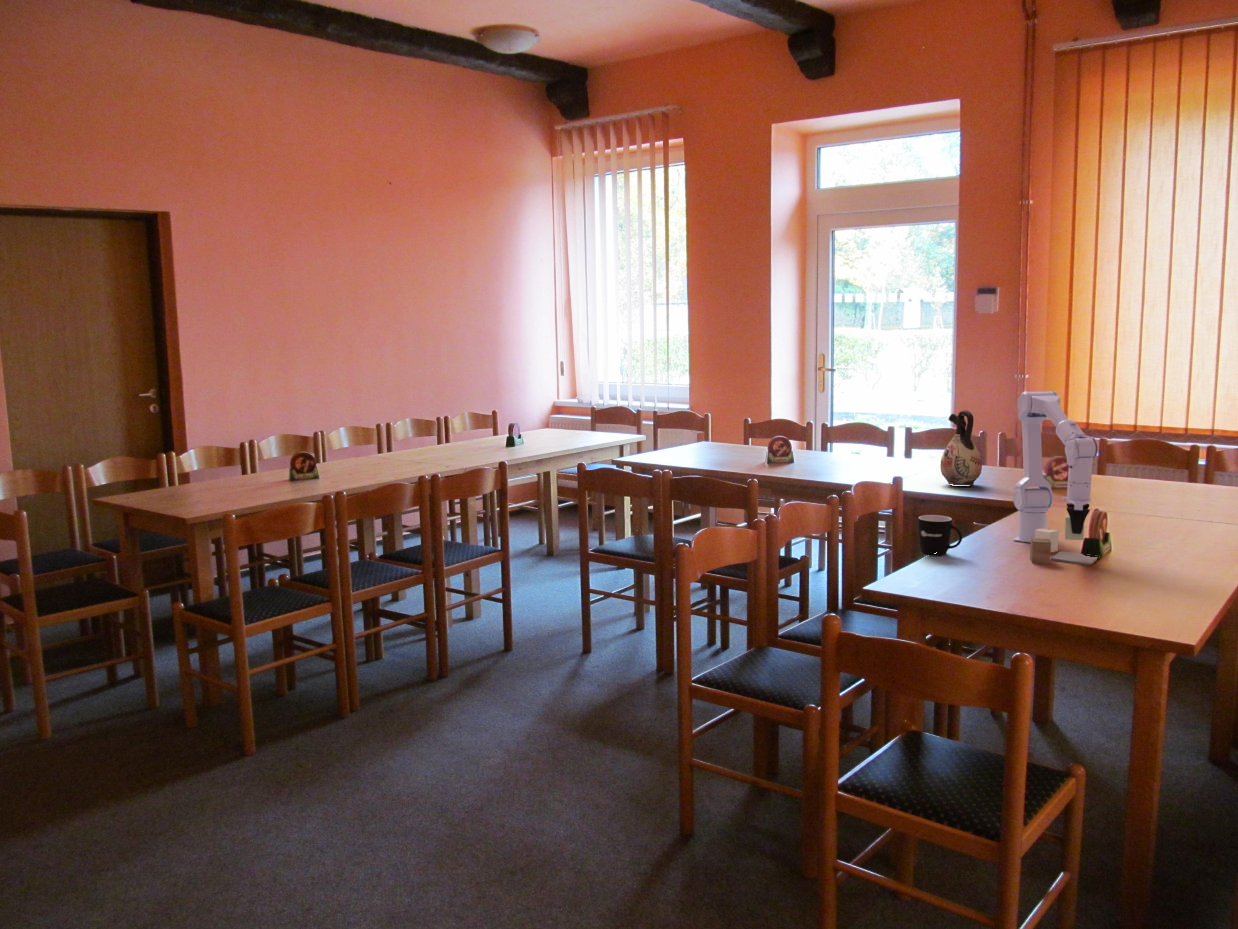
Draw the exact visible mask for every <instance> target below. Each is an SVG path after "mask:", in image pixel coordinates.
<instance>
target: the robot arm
mask: <svg viewBox="0 0 1238 929" xmlns="http://www.w3.org/2000/svg"><path fill="white" fill-rule="evenodd" d="M1017 416H1018V420H1019V421H1021V435H1022V438H1021V439H1022V458H1023V459H1022V460H1023V463H1022V464H1023V465H1022V466H1023V477H1022V478H1021V479H1020V480H1018V482H1016V483H1015V484H1014V493H1013V496H1012V501H1013V504H1014V505H1013V506H1015V508H1016V510H1018V511H1019V512H1018V528H1017V529H1018V530H1017V531H1018V532H1017V534H1018V535H1017V536H1016V537H1014V538H1013V541H1015V542H1024V543H1030V544H1031V538H1035V530H1037V529H1041V528H1048V515H1047V512H1049V509H1051V508H1052V506H1053V503H1054V493H1053V491H1052V484H1051V483H1050V482H1049V481H1048V480H1046V479H1045V478H1044V477H1043V476H1044V475H1043V451H1042V450H1043V448H1042V427H1041V426H1042V423H1043V422H1044V421H1046V420H1048V419H1049V420H1050V421H1051V423H1052V424H1053V425H1054V426H1055V427H1056V428H1055V434H1056V435H1057V437H1058V438H1059V440H1060V441H1061V442H1062V444H1063V445H1064V452H1065V456H1066V465H1067V466H1068V470H1067V471H1068V474H1067V487H1066V488H1067V491H1066V496H1062V497H1061V500H1062V501H1065V502H1067V503H1066V511H1067V513H1068V515H1069V516H1070V520H1071V528H1072V533H1073V534H1081V532H1082V529H1083V525H1084V526H1085V521H1086V519H1087V517H1088V515H1089V513H1090V511H1091V509H1090V508H1089V507H1090V503H1091V502H1092V499H1091V492H1092V476H1093V475H1092V474H1093V473H1092V472H1093V460H1094V459H1095V458H1096V457H1097V456H1098V452H1099V445H1098V442H1097V439H1096V438H1095V437H1093V436H1089V435H1086V434H1085V433H1084V431H1083V430H1082V429H1081V428H1080V427H1079V425H1078V423H1077V422H1076V421H1075V420H1072V419H1069V418H1068V417H1067V416H1066V414H1065V412H1064V411H1063V409H1062V407H1061V397H1060V396H1059V394H1058V392H1057V391H1055V390H1051V391H1025V390H1024V391H1022V392H1021V394H1020V395H1019V397H1018V399H1017Z"/></svg>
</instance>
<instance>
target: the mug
mask: <svg viewBox="0 0 1238 929" xmlns="http://www.w3.org/2000/svg"><path fill="white" fill-rule="evenodd" d="M917 518H918V519H917V520H918V521H917V529H918V532H917V533H918V543H919V549H920V551H921V553H922V554H923V555H926V556H931V557H942V555H943V556H945V555H946V554H947V552H948V551H949V549H955V548H957V547H958V546H960V544H961V543H962V541H963V540H962V539H963V535H962V531H961V530H960V529H959V527H957V526H955V525H953V518H951V517H950V516H946V515H938V514H925V515H920V516H918V517H917ZM952 529H953V530H955V531H956V533H958V538H959V539H958V541H957V543H956V544H954V545H953V544H952V545H950V542H951V541H950V540H951V535H952ZM936 552H937V553H936ZM934 553H936V554H934Z"/></svg>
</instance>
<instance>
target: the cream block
mask: <svg viewBox="0 0 1238 929" xmlns="http://www.w3.org/2000/svg"><path fill="white" fill-rule="evenodd" d="M1059 534H1060V531H1059V529H1053V528H1048V527H1047V528H1041V529H1037V530H1035V538H1043V539H1050V541H1051V552H1053V553H1055V551H1056V552H1059V536H1060V535H1059Z"/></svg>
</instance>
